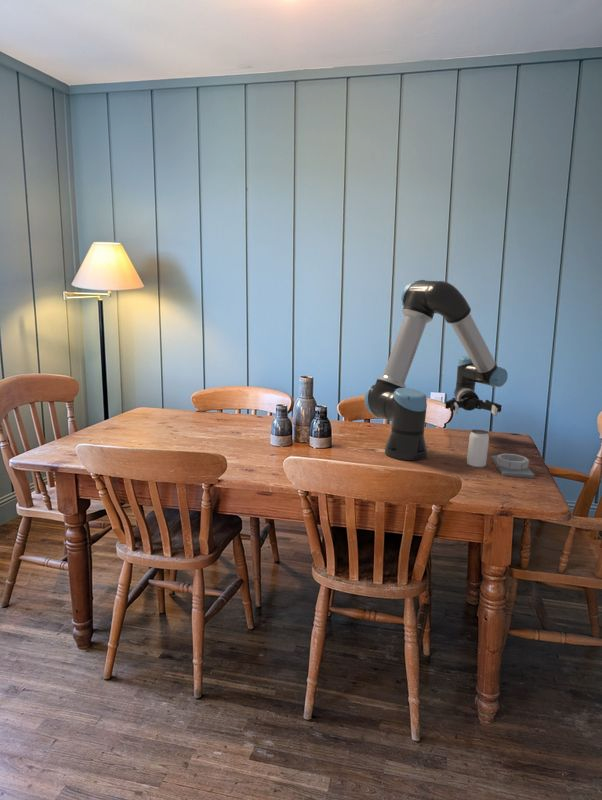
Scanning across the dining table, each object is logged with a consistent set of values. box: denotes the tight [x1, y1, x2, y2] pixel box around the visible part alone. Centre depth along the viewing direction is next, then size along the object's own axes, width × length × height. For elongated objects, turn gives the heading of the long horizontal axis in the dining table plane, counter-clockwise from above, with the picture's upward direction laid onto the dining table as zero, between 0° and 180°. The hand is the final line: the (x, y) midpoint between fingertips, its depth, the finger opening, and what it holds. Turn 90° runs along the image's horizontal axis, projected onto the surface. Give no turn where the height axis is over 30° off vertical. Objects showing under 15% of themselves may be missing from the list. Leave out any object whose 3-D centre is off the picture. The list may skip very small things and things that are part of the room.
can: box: [466, 428, 490, 468], centre depth 203 cm, size 6×6×12 cm
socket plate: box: [491, 453, 535, 479], centre depth 203 cm, size 10×20×4 cm, turn 173°
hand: (476, 411), depth 212 cm, fingers open, 13 cm apart
